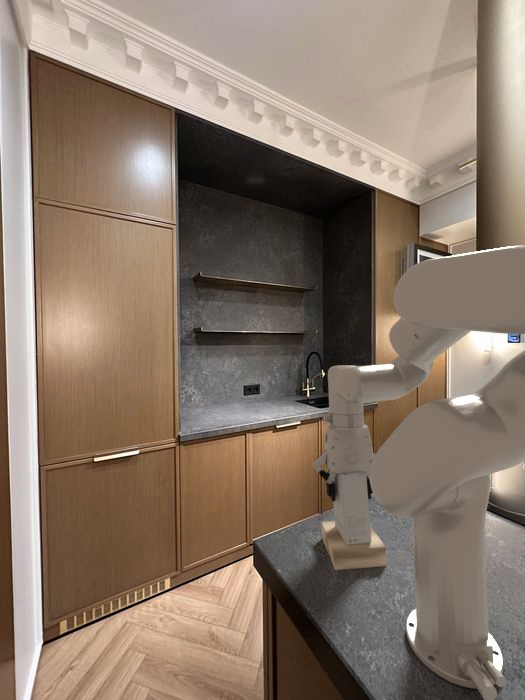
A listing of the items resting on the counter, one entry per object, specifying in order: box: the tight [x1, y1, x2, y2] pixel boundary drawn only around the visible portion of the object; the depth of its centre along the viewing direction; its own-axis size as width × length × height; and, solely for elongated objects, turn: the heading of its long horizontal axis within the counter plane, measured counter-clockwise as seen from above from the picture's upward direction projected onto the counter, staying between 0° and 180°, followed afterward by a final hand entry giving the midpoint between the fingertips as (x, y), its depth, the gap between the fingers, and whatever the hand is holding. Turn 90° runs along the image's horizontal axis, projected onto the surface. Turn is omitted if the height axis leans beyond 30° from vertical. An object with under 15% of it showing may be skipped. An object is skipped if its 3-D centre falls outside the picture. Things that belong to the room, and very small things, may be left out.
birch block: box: [321, 520, 387, 571], centre depth 71 cm, size 11×11×4 cm
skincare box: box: [332, 472, 372, 545], centre depth 71 cm, size 8×6×15 cm
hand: (349, 497), depth 71 cm, fingers open, 7 cm apart
